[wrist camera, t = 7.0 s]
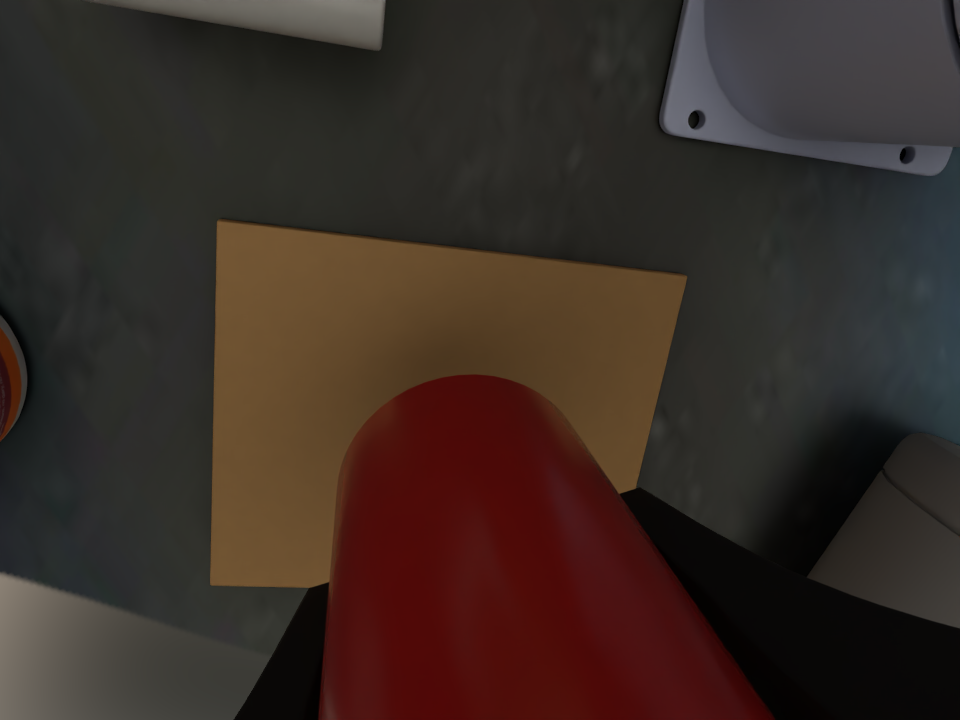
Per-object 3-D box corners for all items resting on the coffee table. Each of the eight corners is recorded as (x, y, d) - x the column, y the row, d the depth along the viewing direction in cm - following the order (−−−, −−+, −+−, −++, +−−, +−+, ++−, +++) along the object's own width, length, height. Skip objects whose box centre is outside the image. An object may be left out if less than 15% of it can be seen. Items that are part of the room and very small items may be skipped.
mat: (682, 273, 21) (688, 276, 21) (606, 588, 25) (610, 595, 25) (219, 218, 19) (216, 220, 18) (212, 578, 22) (209, 586, 22)
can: (549, 336, 12) (827, 651, 5) (608, 545, 13) (879, 1011, 6) (296, 424, 11) (184, 893, 4) (388, 626, 13) (413, 1202, 6)
